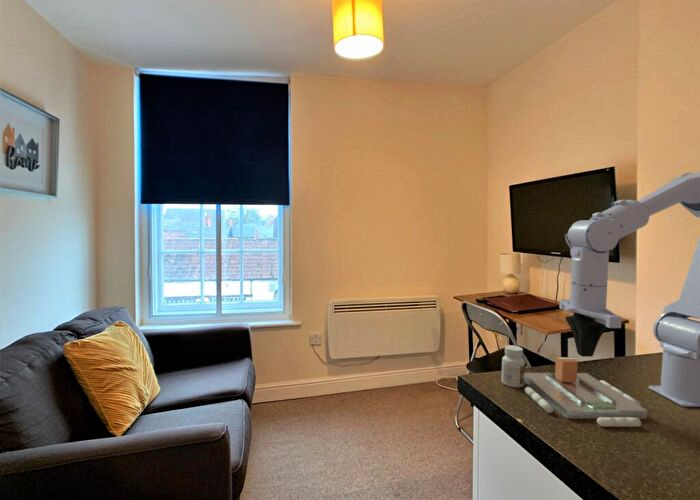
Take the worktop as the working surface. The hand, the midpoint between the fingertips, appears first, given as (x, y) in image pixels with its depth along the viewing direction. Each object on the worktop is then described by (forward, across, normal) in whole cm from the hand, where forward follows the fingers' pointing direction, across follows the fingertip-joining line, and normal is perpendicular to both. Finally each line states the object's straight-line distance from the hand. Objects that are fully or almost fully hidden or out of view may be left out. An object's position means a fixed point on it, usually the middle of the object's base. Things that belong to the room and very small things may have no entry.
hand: (585, 355), depth 69 cm
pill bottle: (+9, -8, -10) cm, 16 cm away
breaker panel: (+9, -2, 0) cm, 9 cm away
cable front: (+9, +1, -9) cm, 13 cm away
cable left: (+9, +9, 0) cm, 13 cm away
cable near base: (+9, -2, +8) cm, 12 cm away
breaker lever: (+7, -5, 0) cm, 9 cm away
